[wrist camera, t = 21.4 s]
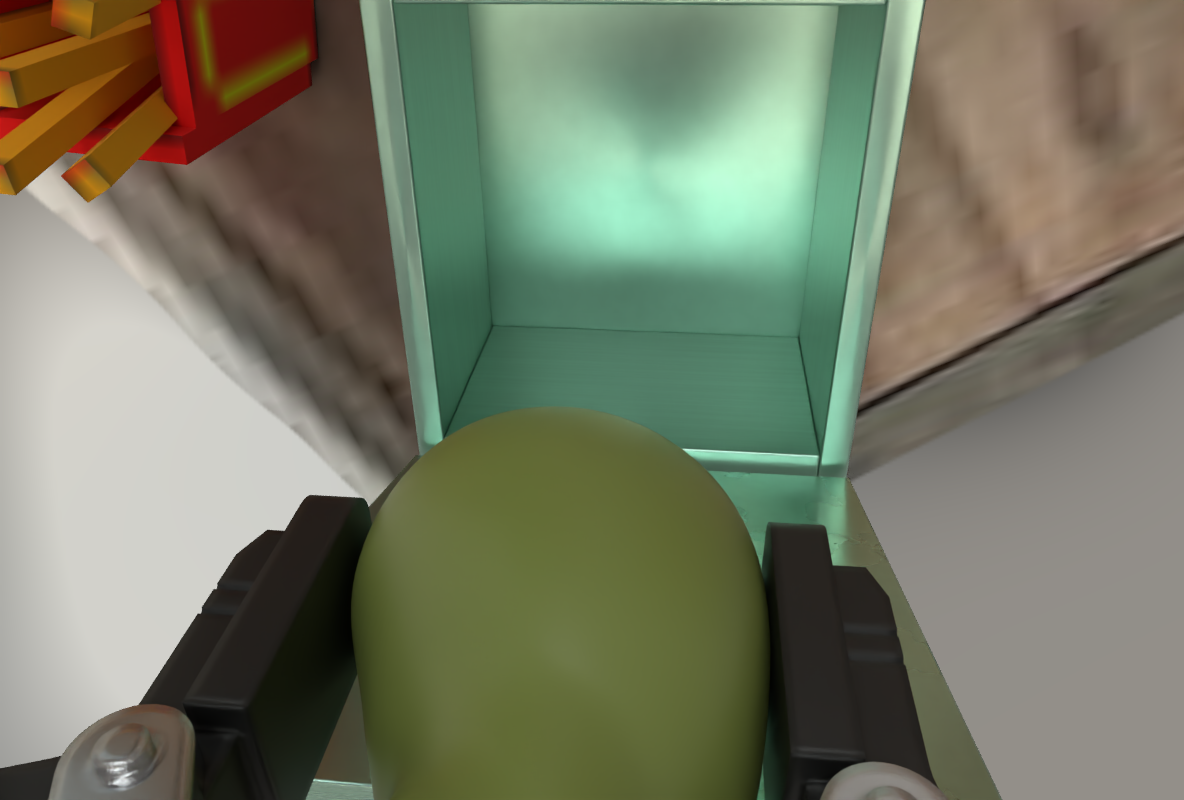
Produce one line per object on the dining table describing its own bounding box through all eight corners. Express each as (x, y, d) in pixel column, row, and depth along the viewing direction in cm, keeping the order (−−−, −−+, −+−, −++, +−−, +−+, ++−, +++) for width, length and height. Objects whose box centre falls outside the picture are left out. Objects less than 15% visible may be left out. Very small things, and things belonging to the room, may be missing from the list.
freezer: (441, -69, 30) (352, -36, 22) (873, -70, 29) (932, -36, 21) (476, 333, 38) (419, 458, 30) (817, 347, 36) (846, 481, 29)
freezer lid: (134, 764, 15) (169, 1026, 16) (1024, 843, 13) (976, 1122, 15) (415, 454, 30) (420, 604, 31) (849, 477, 28) (833, 633, 30)
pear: (686, 652, 16) (653, 1581, 7) (390, 568, 16) (13, 1432, 7) (812, 393, 13) (996, 1461, 4) (449, 284, 13) (-80, 1199, 4)
